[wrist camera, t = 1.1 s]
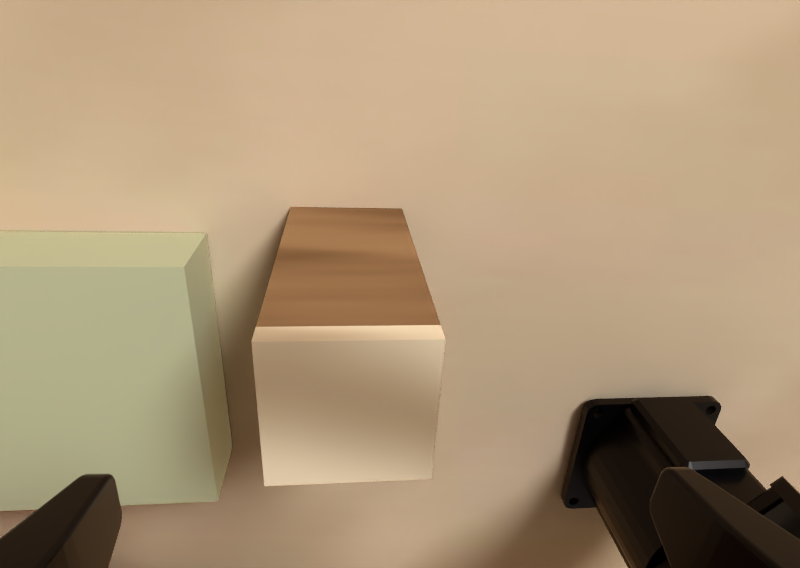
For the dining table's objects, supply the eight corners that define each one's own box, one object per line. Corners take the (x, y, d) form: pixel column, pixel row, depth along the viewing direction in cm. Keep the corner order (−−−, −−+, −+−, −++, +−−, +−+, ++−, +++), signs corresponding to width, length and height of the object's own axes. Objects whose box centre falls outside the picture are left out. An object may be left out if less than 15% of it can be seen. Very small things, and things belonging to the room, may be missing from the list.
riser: (232, 446, 23) (218, 501, 20) (-64, 456, 22) (-122, 516, 19) (206, 232, 19) (183, 267, 16) (-166, 229, 17) (-259, 265, 15)
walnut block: (396, 305, 21) (431, 479, 13) (294, 305, 20) (264, 486, 12) (401, 208, 19) (445, 339, 11) (290, 207, 19) (251, 342, 11)
